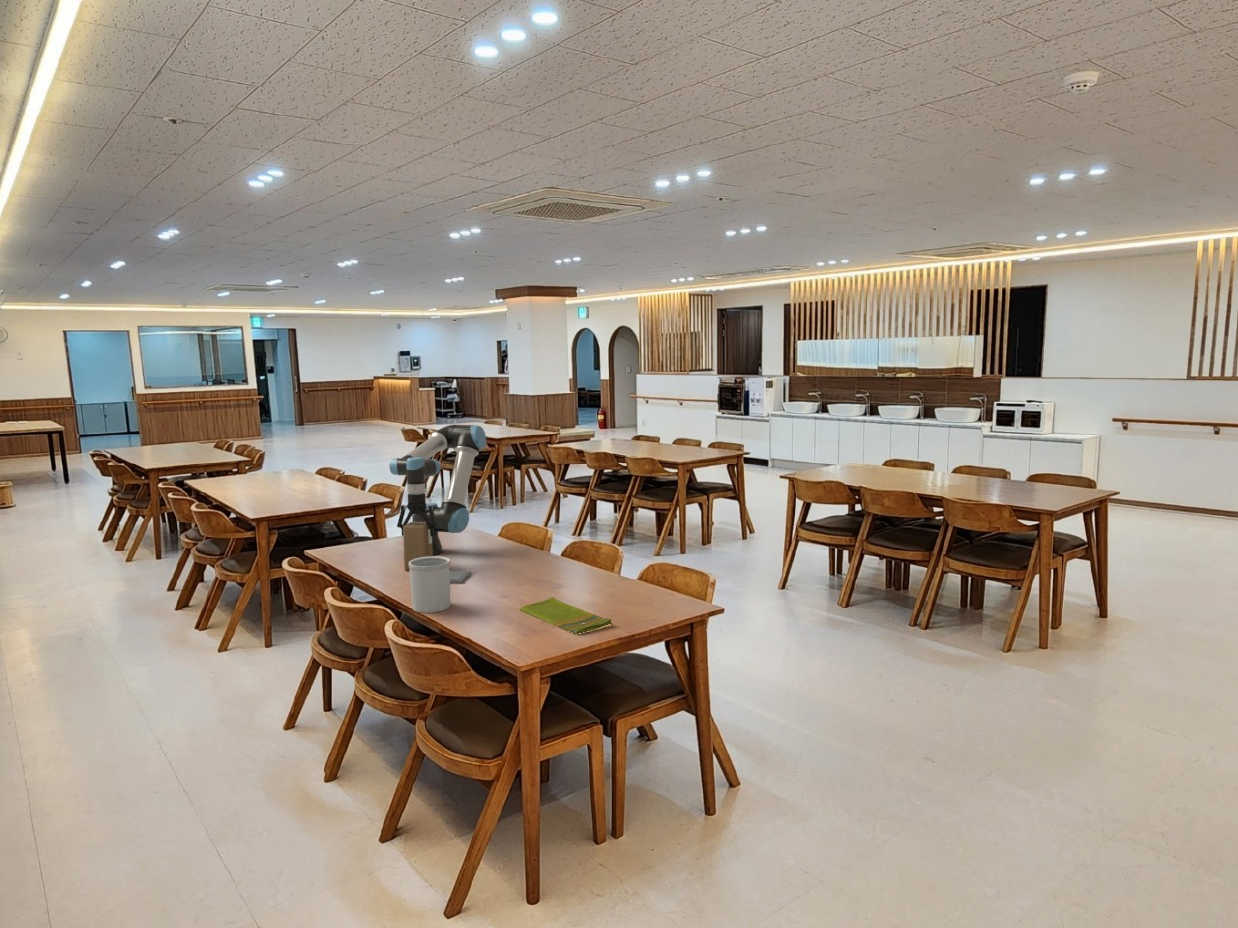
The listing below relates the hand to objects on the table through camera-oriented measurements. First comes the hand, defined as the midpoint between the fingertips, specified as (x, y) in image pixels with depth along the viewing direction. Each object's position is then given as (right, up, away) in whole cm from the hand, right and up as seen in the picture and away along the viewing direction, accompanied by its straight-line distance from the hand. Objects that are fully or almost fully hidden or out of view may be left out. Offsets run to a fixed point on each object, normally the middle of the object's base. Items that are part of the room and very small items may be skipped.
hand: (418, 543), depth 345 cm
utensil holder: (+19, -18, -54) cm, 60 cm away
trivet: (+16, -13, -15) cm, 25 cm away
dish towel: (+69, -20, -67) cm, 98 cm away
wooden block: (0, -11, +1) cm, 11 cm away
